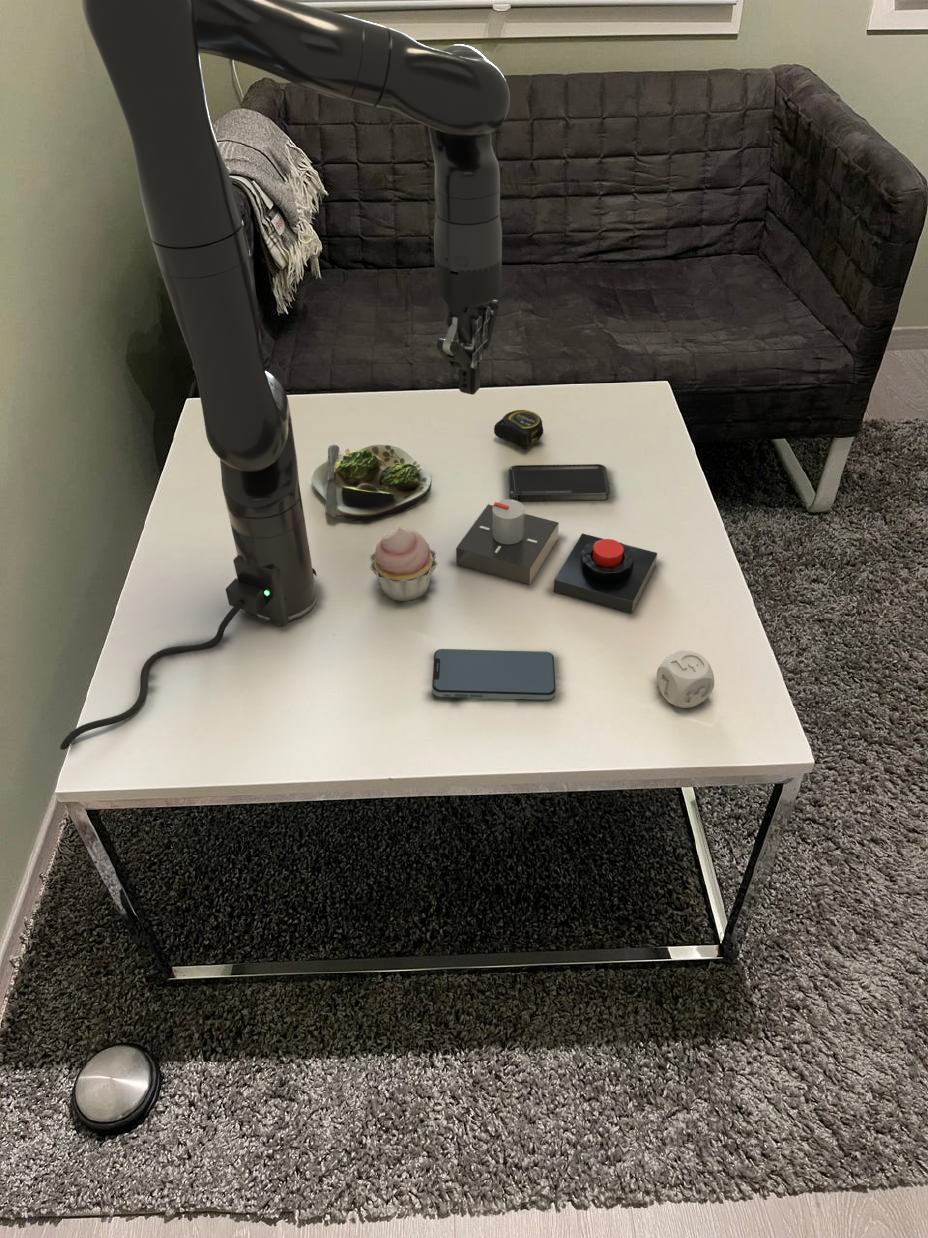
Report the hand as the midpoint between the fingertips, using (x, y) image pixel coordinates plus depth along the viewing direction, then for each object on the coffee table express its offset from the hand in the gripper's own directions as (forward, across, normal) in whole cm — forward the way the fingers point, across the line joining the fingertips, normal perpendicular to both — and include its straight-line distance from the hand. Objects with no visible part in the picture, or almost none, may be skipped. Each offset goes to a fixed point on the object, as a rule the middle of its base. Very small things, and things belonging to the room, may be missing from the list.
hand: (469, 390), depth 124 cm
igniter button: (+23, -4, +19) cm, 30 cm away
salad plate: (+27, -9, -21) cm, 35 cm away
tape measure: (+27, -30, -5) cm, 41 cm away
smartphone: (+27, +20, +12) cm, 36 cm away
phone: (+27, -21, +5) cm, 34 cm away
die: (+27, +13, +34) cm, 45 cm away
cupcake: (+27, +9, -6) cm, 29 cm away
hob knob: (+24, -4, +4) cm, 24 cm away
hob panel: (+27, -4, +4) cm, 27 cm away
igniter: (+27, -4, +19) cm, 33 cm away
